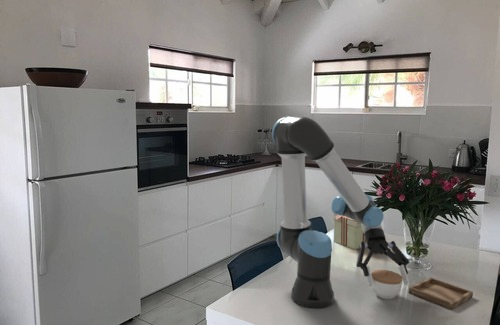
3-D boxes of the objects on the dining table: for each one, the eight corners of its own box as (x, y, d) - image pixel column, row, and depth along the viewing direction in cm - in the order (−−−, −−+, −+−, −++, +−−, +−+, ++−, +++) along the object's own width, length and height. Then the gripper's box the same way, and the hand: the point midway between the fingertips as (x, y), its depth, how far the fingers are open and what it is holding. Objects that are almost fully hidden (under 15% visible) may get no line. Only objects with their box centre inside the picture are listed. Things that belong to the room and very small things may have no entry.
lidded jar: (396, 290, 152) (398, 266, 151) (404, 303, 142) (406, 277, 140) (367, 288, 153) (369, 264, 152) (373, 301, 143) (375, 276, 141)
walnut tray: (451, 309, 137) (452, 303, 137) (408, 292, 150) (409, 287, 150) (472, 297, 147) (472, 291, 147) (430, 282, 160) (430, 277, 159)
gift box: (327, 243, 206) (329, 210, 203) (349, 236, 217) (351, 205, 215) (355, 252, 193) (357, 217, 191) (377, 245, 205) (379, 212, 202)
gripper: (398, 235, 163) (416, 286, 150) (340, 236, 159) (353, 289, 146) (406, 226, 157) (425, 278, 144) (346, 227, 153) (360, 281, 141)
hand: (389, 284), depth 145 cm, fingers open, 13 cm apart
